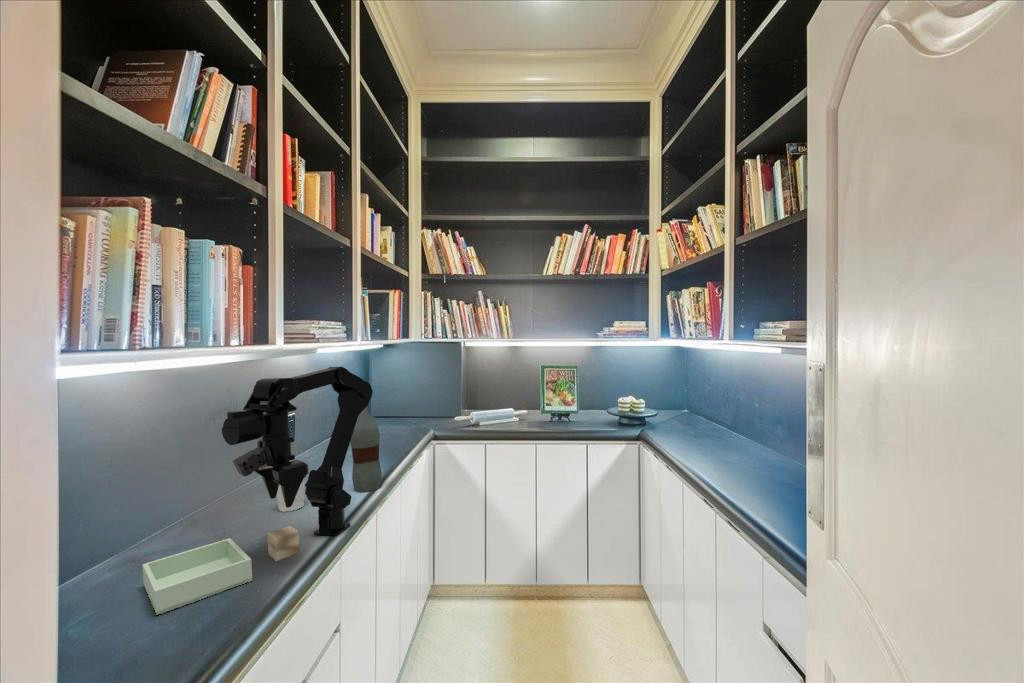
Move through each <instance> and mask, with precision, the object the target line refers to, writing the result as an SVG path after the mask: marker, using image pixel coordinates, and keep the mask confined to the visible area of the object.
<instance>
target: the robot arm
mask: <svg viewBox="0 0 1024 683" xmlns="http://www.w3.org/2000/svg"><path fill="white" fill-rule="evenodd" d="M329 385H330V386H331V388H332V390H333V391H334V392H335V393H337V394H338V396H337V404H338V408H339V411H338V415H337V418H336V421H335V424H334V427H333V430H332V434H331V437H330V438H329V442H328V445H327V448H326V450H325V454H324V458H323V460H322V463H321V465H320V466H319V467H318V468H317V469H310V470H309V465H308V464H307V463H305V462H304V461H302V460H299V459H296V460H295V458H296V456H295V455H296V454H292V447H291V443H292V442H293V443H294V441H295V440H294V436H292V435H291V433H290V420H289V419H290V418H289V413H290V412H293V411H294V412H295V411H297V408H298V407H296V406H295V405H294V404H292V403H291V402H290V401H292V400H294V399H296V398H297V397H298V396H300V395H301V394H302V393H304V392H309V391H313V390H317V389H319V388H323V387H325V386H329ZM373 392H374V391H373V388H372V386H371V384H370V383H369V381H365V380H364V379H363V378H361V377H360V376H358V375H357V374H354V373H352V372H351V371H350V370H349V369H347V368H345V367H344V366H329V367H328V368H324V369H320V370H316V371H312V372H307V373H304V374H299V375H296V376H292V377H273V378H272V377H270V378H261V379H259V380H257V381H256V382H255V384H254V386H253V389H252V392H251V395H250V396H249V398H248V399H247V401H246V403H245V405H244V407H243V409H241V410H238V411H236V410H233V411H228V412H227V418H226V419H225V420H224V421H223V425H222V427H221V434H222V438H223V439H224V441H225V443H226V444H227V445H229V446H235V445H239V444H243V443H246V442H250V441H254V440H258V441H257V443H256V445H257V446H256V448H253V449H251V450H249V451H248V452H246V453H244V454H242V455H240V456H238V457H237V458H235V459H233V460H232V464H233V465H234V467H235V469H236V471H237V472H238V474H239V475H241V476H243V477H247V476H250V475H252V474H253V472H254V473H256V474H257V475H259V476H261V478H262V480H263V483H264V486H265V488H266V490H267V493H268V496H269V499H271V500H272V499H277V491H278V487H279V485H280V486H281V489H282V493H283V498H284V502H285V505H286V507H287V508H288V507H291V506H292V504H293V502H294V499H295V497H296V494H297V492H298V490H299V487H300V485H301V483H302V481H303V479H304V480H305V478H306V477H307V476H308V477H307V481H306V483H304V487H305V491H304V496H306V499H307V500H308V501H309V502H310V505H311V507H313V508H318V511H317V514H318V516H317V518H318V520H317V522H318V529H317V530H315V531H314V532H313V535H314V536H315V535H320V536H339V534H341V533H343V531H344V530H346V529H347V528H349V527H350V526H351V523H350V522H345V520H346V519H345V509H346V508H347V507H348V506H350V505H351V501H352V495H351V494H350V493H349V492H348V491H346V490H345V489H343V488H344V482H345V478H344V473H343V466H344V462H345V460H346V456H347V454H348V450H349V446H350V445H351V442H350V441H351V437H352V434H353V431H354V428H355V425H356V422H357V418H358V416H359V414H360V413H361V412H362V411H363V410H364V409H365V408H366V407H368V406H369V403H370V401H371V398H372V396H373ZM260 438H261V439H260Z"/></svg>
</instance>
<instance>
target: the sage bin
mask: <svg viewBox="0 0 1024 683" xmlns="http://www.w3.org/2000/svg"><path fill="white" fill-rule="evenodd" d="M142 575H143V576H142V578H143V582H142V583H143V588H144V587H145V588H144V590H145V589H146V590H145V593H146V592H147V593H146V595H147V594H148V595H147V597H149V598H148V600H149V599H150V600H149V602H150V601H151V602H150V604H152V605H151V607H152V606H153V607H152V609H153V608H154V609H153V611H154V610H155V612H154V614H155V613H156V614H155V616H156V615H158V614H160V613H163V612H166V611H169V610H172V609H174V608H177V607H181V606H183V605H186V604H189V603H192V604H194V603H193V602H195V601H198V600H200V601H202V600H201V599H203V598H205V597H207V596H210V595H213V594H215V593H218V592H221V591H224V590H227V589H229V588H232V587H235V586H238V585H241V586H243V585H242V584H244V585H246V584H245V583H247V582H249V583H251V582H250V581H252V582H253V566H252V558H251V557H250V556H248V554H246V552H245V551H244V550H243V549H242V548H241V547H239V545H238V544H237V543H236V542H235V541H233V540H232V538H230V537H229V538H226V539H222V540H219V541H216V542H212V543H209V544H206V545H201V546H199V547H195V548H193V549H189V550H185V551H182V552H178V553H175V554H172V555H169V556H165V557H163V558H159V559H155V560H152V561H149V562H146V563H142ZM247 584H248V583H247ZM238 587H239V586H238ZM227 591H228V590H227ZM203 600H204V599H203ZM198 602H199V601H198ZM195 603H196V602H195ZM189 605H190V604H189ZM181 608H182V607H181Z"/></svg>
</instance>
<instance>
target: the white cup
mask: <svg viewBox="0 0 1024 683" xmlns="http://www.w3.org/2000/svg"><path fill="white" fill-rule="evenodd" d="M305 490H306V487H305V478H304V479H303V481H302V483H301V485H300V487H299V490H298V492H297V494H296V497H295V499H294V502H293V504H292V506H291V507H288V508H287V507H286V505H285V502H284V498H283V493H282V489H281V486H280V485H279V487H278V491H277V495H276V501H277V506H278V511H279V512H281V511H282V513H283V512H284V513H287V512H286V511H289V512H294V511H297V509H298V510H300V509H302V508H303V507H304V506H305ZM301 507H302V508H301ZM299 508H300V509H299ZM293 510H294V511H293Z"/></svg>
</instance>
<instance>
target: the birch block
mask: <svg viewBox="0 0 1024 683" xmlns="http://www.w3.org/2000/svg"><path fill="white" fill-rule="evenodd" d="M266 536H267V549H268V550H267V551H268V555H269V557H271V559H275V560H276V561H275V560H274V561H275V562H278V561H280V559H281V560H283V559H282V558H284V559H286V558H285V557H287V558H289V557H292V556H295V555H297V554H296V553H298V552H299V553H300V538H299V536H300V535H299V531H298V530H297V529H296V528H294V527H293V526H291V525H288V526H285V527H283V528H282V527H281V528H280V529H279V528H278V529H275V530H273V531H270V532H267V535H266ZM299 553H298V554H299ZM294 554H295V555H294ZM291 555H292V556H291ZM288 556H289V557H288ZM277 560H278V561H277Z"/></svg>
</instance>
